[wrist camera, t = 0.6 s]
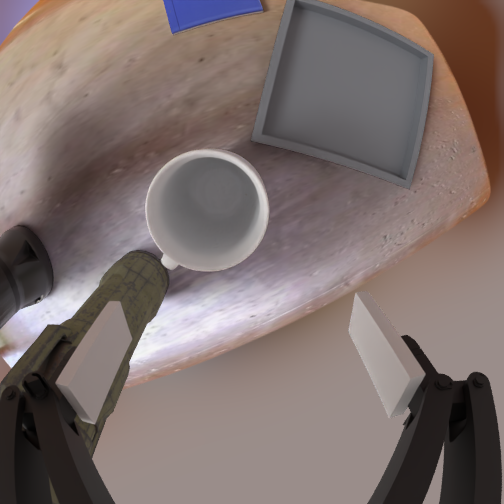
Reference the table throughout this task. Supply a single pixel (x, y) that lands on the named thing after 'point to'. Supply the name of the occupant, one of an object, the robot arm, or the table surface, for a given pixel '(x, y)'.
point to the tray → (345, 92)
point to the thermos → (73, 330)
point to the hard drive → (206, 12)
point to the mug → (207, 210)
